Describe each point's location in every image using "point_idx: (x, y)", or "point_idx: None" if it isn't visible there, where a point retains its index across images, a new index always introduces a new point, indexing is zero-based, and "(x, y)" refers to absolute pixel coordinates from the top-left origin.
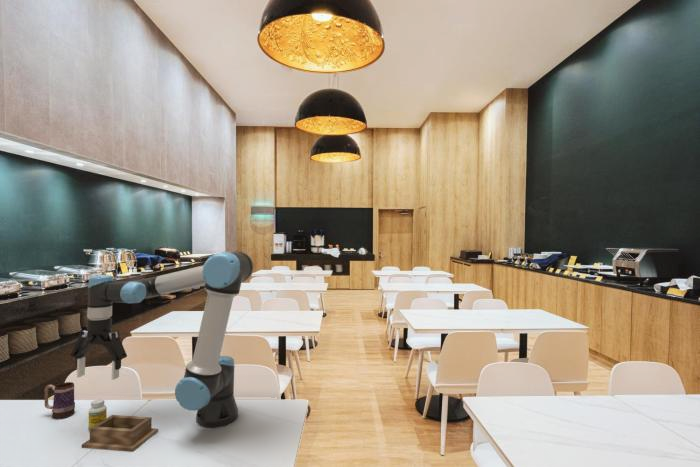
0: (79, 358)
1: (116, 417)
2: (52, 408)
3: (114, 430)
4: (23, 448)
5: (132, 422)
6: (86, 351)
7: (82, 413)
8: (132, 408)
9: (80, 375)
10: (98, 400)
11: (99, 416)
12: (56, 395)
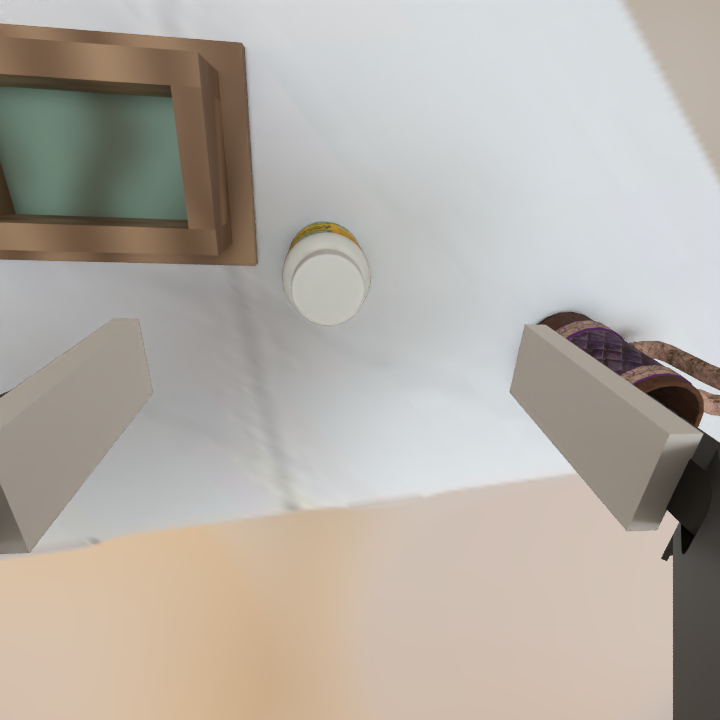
0: (684, 467)
1: (165, 227)
2: (617, 334)
3: (7, 38)
4: (537, 15)
5: (67, 222)
6: (678, 615)
7: (489, 373)
8: (308, 438)
9: (525, 350)
10: (333, 302)
11: (292, 245)
12: (645, 358)
